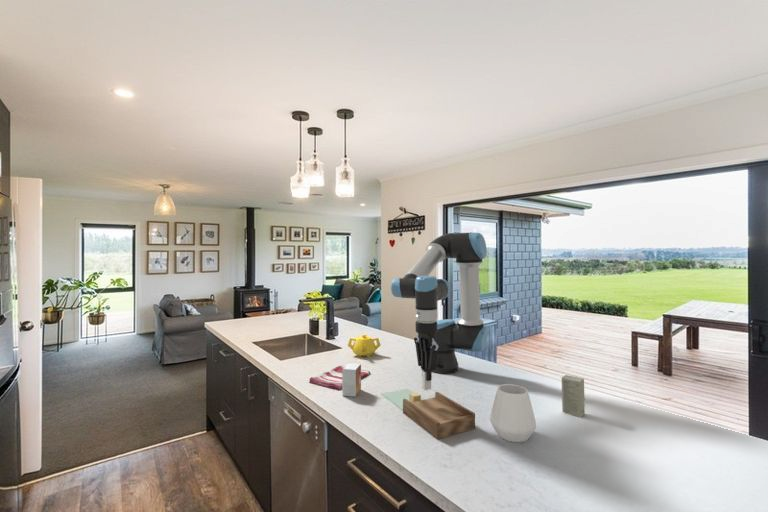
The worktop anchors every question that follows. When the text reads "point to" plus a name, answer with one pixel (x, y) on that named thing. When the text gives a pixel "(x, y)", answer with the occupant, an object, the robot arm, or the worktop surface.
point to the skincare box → (573, 395)
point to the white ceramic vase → (512, 413)
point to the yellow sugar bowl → (364, 345)
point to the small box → (351, 380)
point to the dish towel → (333, 378)
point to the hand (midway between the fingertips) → (426, 388)
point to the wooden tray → (440, 416)
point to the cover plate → (402, 397)
